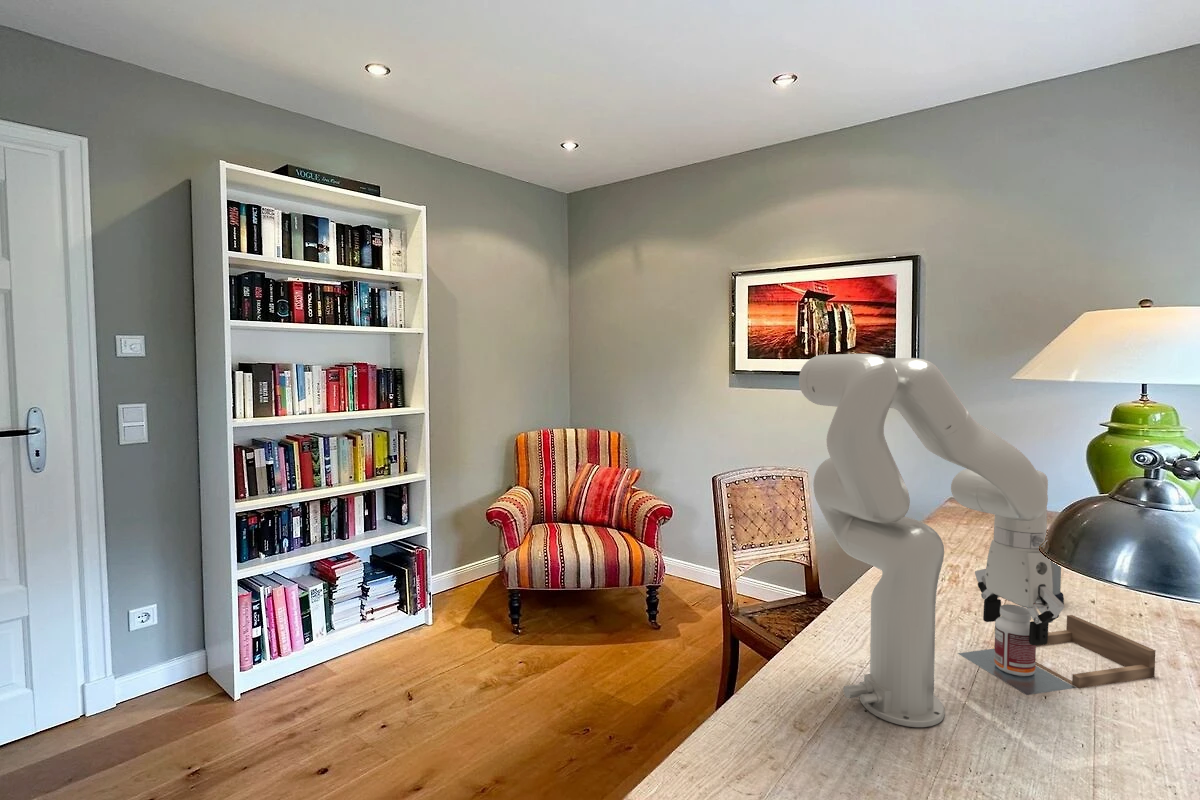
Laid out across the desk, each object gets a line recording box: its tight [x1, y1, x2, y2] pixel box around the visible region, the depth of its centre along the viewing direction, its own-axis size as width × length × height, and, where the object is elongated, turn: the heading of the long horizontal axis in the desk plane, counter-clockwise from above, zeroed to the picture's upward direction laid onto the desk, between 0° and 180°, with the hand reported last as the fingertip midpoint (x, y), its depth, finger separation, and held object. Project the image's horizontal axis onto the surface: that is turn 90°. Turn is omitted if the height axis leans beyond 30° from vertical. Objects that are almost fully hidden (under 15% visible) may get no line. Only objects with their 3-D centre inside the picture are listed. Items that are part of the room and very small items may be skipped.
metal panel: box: [957, 648, 1077, 696], centre depth 111 cm, size 1×15×10 cm
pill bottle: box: [994, 603, 1037, 676], centre depth 111 cm, size 6×6×11 cm
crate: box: [1035, 614, 1157, 689], centre depth 114 cm, size 16×15×6 cm
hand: (1013, 632), depth 110 cm, fingers open, 9 cm apart
